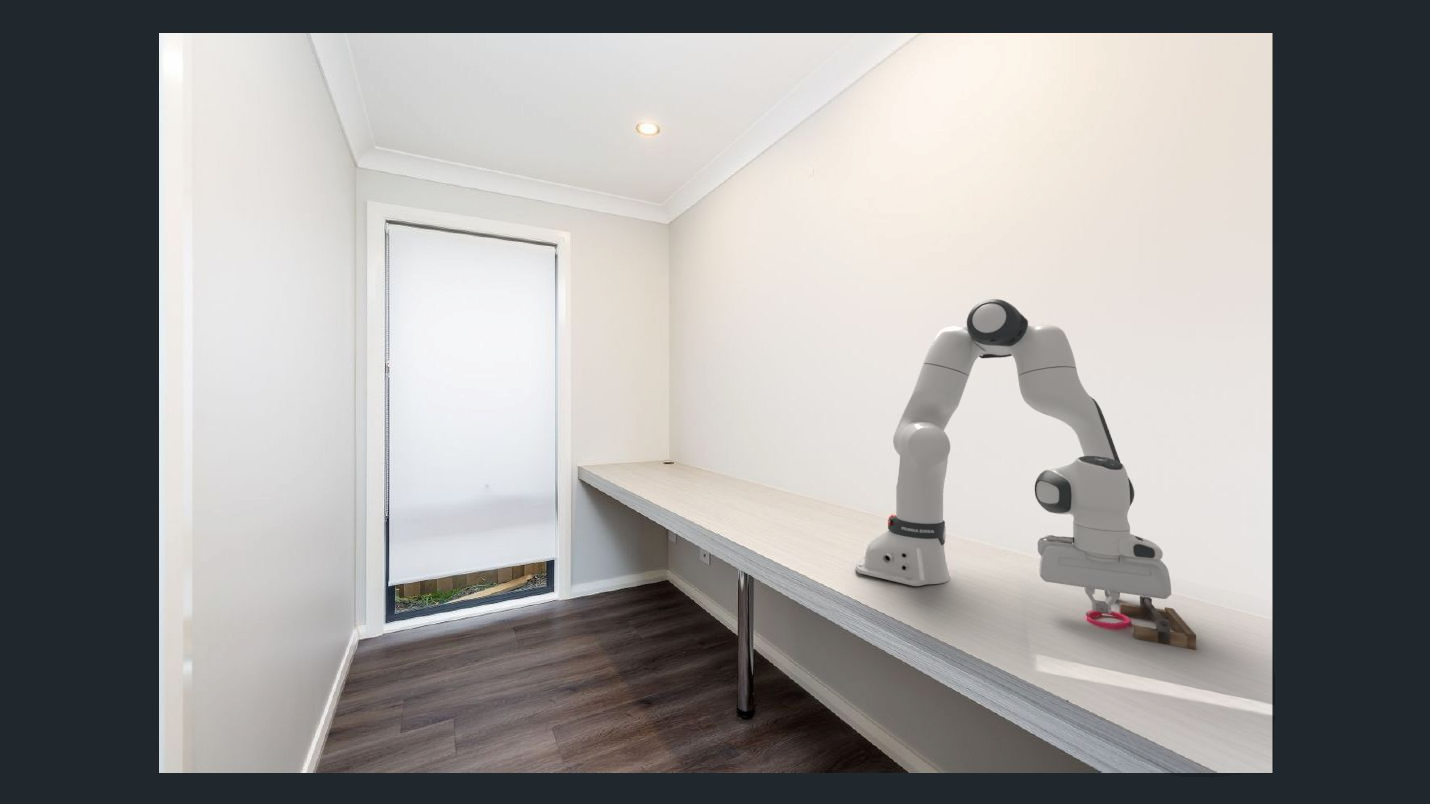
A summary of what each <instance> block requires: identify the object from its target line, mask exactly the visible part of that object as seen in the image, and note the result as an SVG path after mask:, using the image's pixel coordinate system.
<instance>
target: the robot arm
mask: <svg viewBox="0 0 1430 804" xmlns="http://www.w3.org/2000/svg"><path fill="white" fill-rule="evenodd" d="M1008 357H1013V359H1014V361H1015V365H1016V366H1015V367H1016V370H1017V371H1016V372H1017V378H1018V380H1017V381H1018V384H1019V391H1020V394H1021V396H1022V399H1023V401H1024V403H1026V404H1027V405H1028V406H1029V407H1030V408H1031V409H1033V410H1035V411H1036V412H1038V413H1041V414H1044V415H1046V416H1049V417H1051V418H1054V419H1057V420H1058V421H1060V422H1063V423H1064V424H1066V425H1068V427H1070V428H1071V429H1072V430H1073V431H1074V433H1075V434H1076V436H1077V438H1078V442H1079V445H1080V448H1081V450H1082V453H1083V456H1079V457H1078V458H1075V460H1074V461H1073V462H1072V463H1070V464H1068V465H1064V466H1061V467H1058V468H1052V469H1046V470H1044V471H1042V472H1040V474H1039V475H1038V477H1036V480H1035V483H1034V496H1035V499H1036V501H1037V502H1038V504H1039V505H1040V506H1041V508H1043V509H1044V510H1045V511H1046V512H1048V513H1052V514H1055V515H1056V514H1057V515H1071V516H1072V517H1073V519H1072V520H1073V522H1072V530H1073V531H1072V537H1070V536H1057V535H1053V534H1052V535H1051V534H1048V535H1046V536H1043V537H1041V538H1039V539H1038V541H1037V552H1038V554H1039V555H1040V560H1039V571H1038V572H1039V576H1040V578H1041V579H1042V581H1044V582H1045V583H1050V584H1051V583H1052V584H1060V585H1064V586H1074V587H1080V588H1084V592H1085V594H1086V595H1087V597H1088V598H1089V601H1090V607H1091V611H1096V612H1102V613H1108V614H1111V611H1112V606H1113V605H1114V604H1115V603H1116V602H1117V601H1118V598H1119V592H1120V594H1128V595H1135V596H1139V597H1140V596H1145V597H1150V598H1154V599H1155V598H1156V599H1161V600H1167V599H1168V598H1169V597H1170V596H1171V595H1172V586H1171V585H1172V583H1171V578H1170V572H1169V568H1168V567H1167V565H1166V564H1165V563H1164V562H1163V561H1162V559H1163V555H1164V554H1163V550H1162V549H1161V548H1160V546H1159V545H1157V544H1156V543H1154V542H1153V541H1151V540H1149V539H1145V538H1143V537H1141V536H1138V535H1134V534H1131V525H1130V523H1129V521H1128V519H1129V518H1128V512H1129V510H1130V507H1131V506H1132V504H1133V502H1134V499H1135V488H1134V485H1133V483H1132V481H1131V479H1130V477H1129V476H1128V473H1127V469H1126V467H1125V466H1124V464H1123V463H1122V462H1121V460H1120V457H1119V454H1118V452H1117V448H1116V446H1115V443H1114V440H1113V438H1112V435H1111V432H1110V430H1109V429H1110V428H1109V427H1108V425H1107V422H1106V418H1105V417H1104V414H1103V412H1102V409H1101V407H1100V406H1099V404H1098V402H1097V401H1096V399H1094V398H1093V397H1092V396H1090V394H1088V392H1087V391H1086V389H1085V387H1084V386H1083V384H1082V382H1081V379H1080V377H1079V373H1078V370H1077V365H1076V361H1075V357H1074V353H1073V350H1072V348H1071V345H1070V342H1069V339H1068V337H1067V335H1066V333H1065V332H1064V330H1063V329H1062V328H1060V327H1058V326H1055V325H1052V324H1051V325H1050V324H1042V325H1036V326H1035V325H1033V326H1032V325H1029V320H1028V319H1027V318H1026V317H1025V316H1024V314H1022V312H1020V311H1019V310H1018V309H1017V307H1015V306H1014V305H1012V304H1011V303H1009V302H1007V301H1006V300H1004V299H999V298H991V299H986V300H983V301H981V302H978V303H977V304H975V306H973V307H972V309H971V310H970V311H969V312H968V315H967V318H966V326H965V327H959V326H949V327H948V326H947V327H945V328H943V329H941V330H940V331H939V332H938V333H937V334H936V336H935V338H934V339H933V342H931V345H930V347H929V348H928V351H927V354H926V356H925V358H924V361H923V364H922V366H921V369H920V372H919V375H918V377H917V380H916V382H915V386H914V389H913V391H912V393H911V396H910V397H909V401H908V402H907V405H906V407H905V409H904V411H903V412H902V415H901V418H900V419H899V422H898V425H897V427H896V429H895V432H894V435H893V438H892V442H893V447H894V450H895V451H896V453H897V454H898V455H899V466H898V477H897V483H896V488H895V489H896V490H895V491H896V494H895V495H896V496H895V497H896V504H895V505H896V508H895V509H896V510H895V513H896V514H890V515H889V517H888V520H887V529H888V530H887V531H885V532H884V533H882V534H880V535H879V536H877V537H875V538H874V539H873V540H871V541H870V543H868V545H867V547H866V551H865V556H864V557H862V558H860V559H859V560H857V562H856V565H855V570H856V572H857V573H859V574H862V575H866V576H870V577H874V578H879V579H884V580H886V581H887V580H888V581H892V582H896V583H900V584H904V585H909V586H912V587H920V586H925V585H937V584H938V585H939V584H944V583H947V582H949V581H950V580H951V576H950V572H949V569H948V564H947V559H946V558H947V557H946V551H945V543H946V538H947V537H946V521H945V520H944V488H945V487H944V486H945V481H946V476H947V468H948V459H949V455H950V451H951V442H950V439H949V437H948V435H947V433H946V432H945V430H946V427H947V425H948V424H949V421H950V420H951V418H952V416H953V415H954V413H955V412H956V410H957V409H958V407H959V405H960V402H961V399H962V396H963V394H964V392H965V388H966V385H967V383H968V380H969V378H970V375H971V371H972V369H973V366H974V363H975V362H976V360H977V359H978V358H980V359H997V358H1008ZM1096 590H1101V591H1105V590H1106V591H1108V594H1109V597H1107V599H1105V601H1104V600H1103V601H1102V600H1097V599H1095V597H1094V596H1093V595H1095V592H1096ZM1119 599H1120V598H1119ZM1108 614H1107V615H1108Z"/></svg>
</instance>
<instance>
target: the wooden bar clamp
mask: <svg viewBox="0 0 1430 804" xmlns="http://www.w3.org/2000/svg"><path fill="white" fill-rule="evenodd" d="M1152 602H1153V601H1152V597H1147V596H1140V595H1139V605H1137V604H1131V603H1124V602H1119V604H1118V605H1119V611H1118V613H1121V614H1123V615H1125V616H1127V617H1132V618H1139V619H1144V620H1152V621H1155V623H1156V624H1155V627H1154V628H1153V627H1149V626H1143V625H1138V624H1137V625H1136V624H1132V625H1133V626H1132V627H1133V629H1132V630H1133V631H1132V632H1133V633H1132V635H1133V638H1134V639H1135V640H1142V641H1147V642H1152V643H1158V644H1164V645H1168V646H1175V647H1179V648H1185V649H1189V650H1194V651H1195V650H1197V635H1196V633H1195V632H1194V631H1193V629H1191V628H1190V626H1189V625H1188V624H1187V622H1186V621H1185V620H1184V619H1183V618H1182V617H1181V616H1180V615H1179V614H1178V613H1177V612H1176V610H1175V609H1174V608H1172V607H1167V606H1164V609H1163V608H1158V607H1155V606H1154V604H1153V603H1152ZM1171 630H1172V631H1171Z"/></svg>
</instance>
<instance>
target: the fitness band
mask: <svg viewBox="0 0 1430 804" xmlns="http://www.w3.org/2000/svg"><path fill="white" fill-rule="evenodd" d="M1103 615H1108V616H1112V617H1114V618H1117V619H1119V620H1120V621H1119V622H1115V623H1113V622H1106V621H1100V620H1096V618H1099V617H1102V616H1103ZM1085 616H1086V617H1085V620H1086V621H1087V622H1088V623H1089V624H1091V625H1093V626H1096V627H1100V628H1103V629H1108V630H1117V631H1118V630H1123V629H1127V628H1129V627H1131V625H1132V620H1131V618H1130V617H1129V616H1126V615H1123V614H1121V613H1119V611H1114V610H1111V614H1108V613H1102V612H1096V611H1092V610H1090V611H1086V612H1085Z"/></svg>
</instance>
